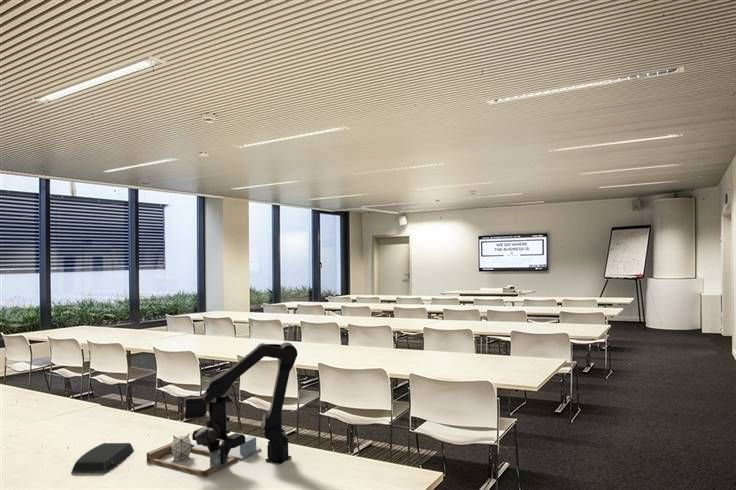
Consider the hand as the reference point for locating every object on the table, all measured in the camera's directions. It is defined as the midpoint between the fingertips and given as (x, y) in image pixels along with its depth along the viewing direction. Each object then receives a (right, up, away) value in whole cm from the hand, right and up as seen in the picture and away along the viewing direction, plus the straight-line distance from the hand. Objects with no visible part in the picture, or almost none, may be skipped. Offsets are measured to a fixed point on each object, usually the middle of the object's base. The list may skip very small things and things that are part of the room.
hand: (219, 463), depth 176 cm
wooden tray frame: (-11, -2, +6) cm, 13 cm away
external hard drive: (-42, -3, +8) cm, 43 cm away
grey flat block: (-3, -2, +16) cm, 17 cm away
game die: (-15, -2, +9) cm, 18 cm away
